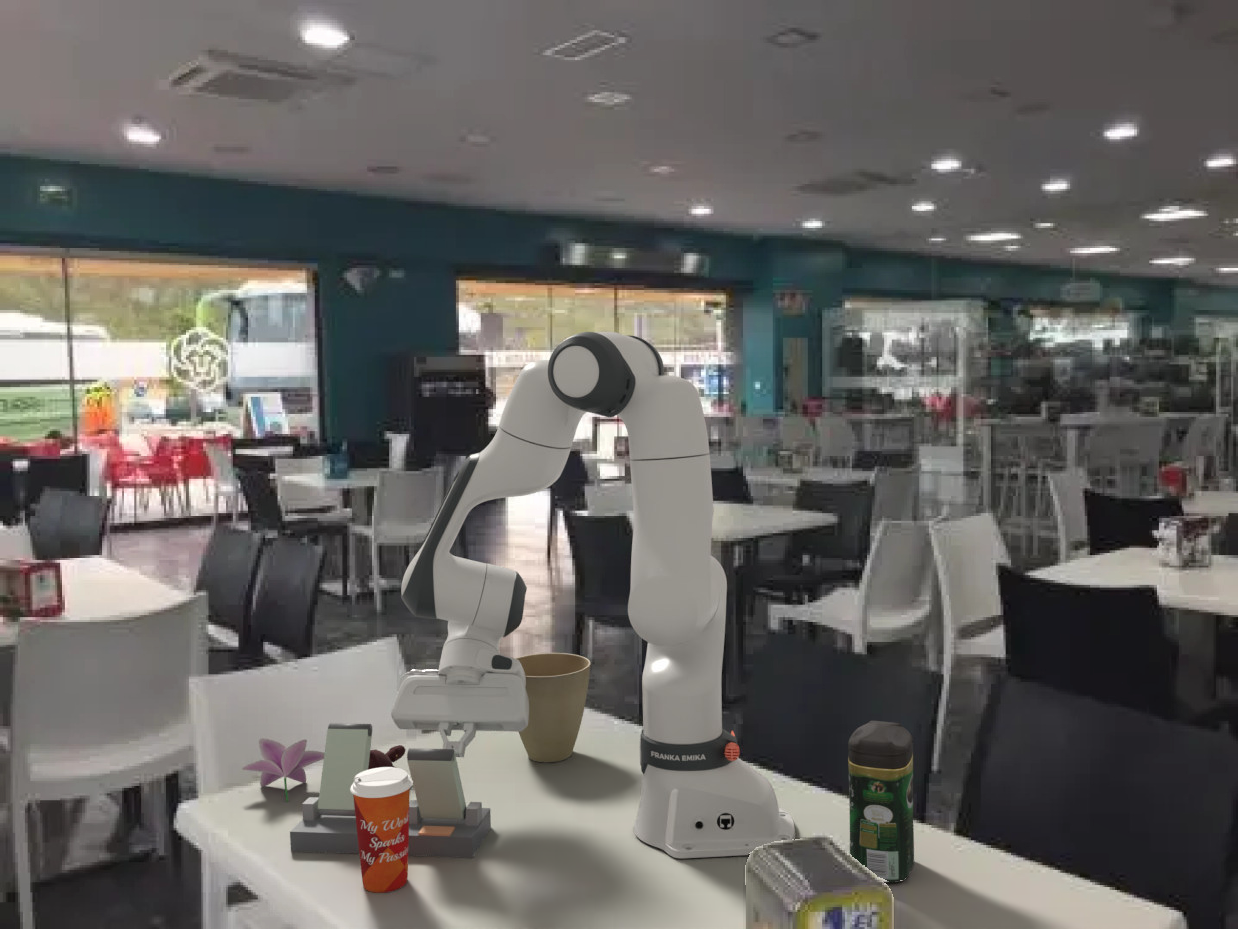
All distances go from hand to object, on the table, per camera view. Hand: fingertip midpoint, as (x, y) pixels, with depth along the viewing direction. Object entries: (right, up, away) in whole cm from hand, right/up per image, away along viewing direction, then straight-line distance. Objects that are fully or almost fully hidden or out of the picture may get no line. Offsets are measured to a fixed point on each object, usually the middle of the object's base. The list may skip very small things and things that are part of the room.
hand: (452, 755), depth 154 cm
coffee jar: (+58, -10, -16) cm, 61 cm away
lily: (-28, -10, +15) cm, 34 cm away
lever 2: (0, -7, -5) cm, 8 cm away
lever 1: (-15, -7, -3) cm, 17 cm away
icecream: (-15, -10, +14) cm, 23 cm away
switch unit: (-8, -11, -4) cm, 14 cm away
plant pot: (+12, -8, +29) cm, 32 cm away
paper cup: (-6, -12, -17) cm, 22 cm away
